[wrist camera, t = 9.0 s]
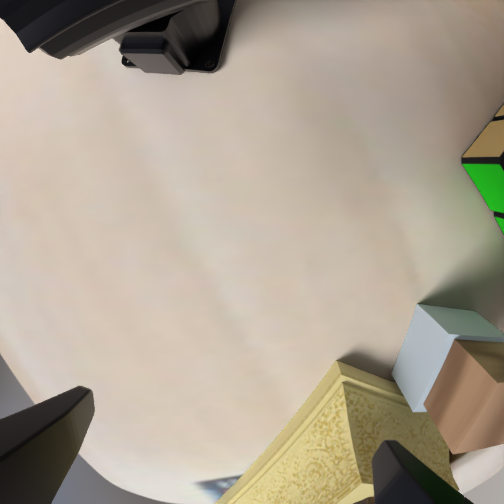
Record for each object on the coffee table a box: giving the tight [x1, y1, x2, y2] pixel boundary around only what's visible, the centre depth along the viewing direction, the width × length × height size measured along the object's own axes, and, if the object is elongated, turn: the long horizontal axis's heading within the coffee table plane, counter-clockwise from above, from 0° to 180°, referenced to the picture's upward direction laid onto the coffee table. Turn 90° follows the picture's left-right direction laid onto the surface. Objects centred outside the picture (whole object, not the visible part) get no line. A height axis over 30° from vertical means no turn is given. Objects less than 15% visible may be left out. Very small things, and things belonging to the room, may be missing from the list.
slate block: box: [391, 304, 504, 412], centre depth 19 cm, size 6×6×5 cm
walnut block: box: [423, 339, 504, 454], centre depth 14 cm, size 5×5×5 cm
